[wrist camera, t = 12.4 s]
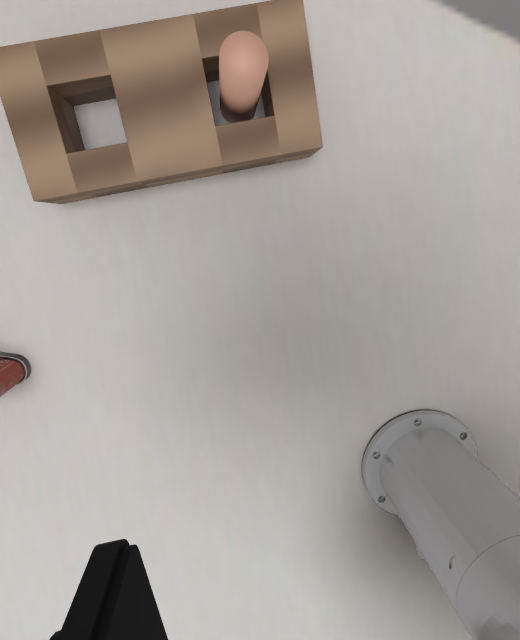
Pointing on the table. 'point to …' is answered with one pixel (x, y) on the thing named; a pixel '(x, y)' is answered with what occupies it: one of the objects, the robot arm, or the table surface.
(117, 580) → the robot arm
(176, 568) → the table surface
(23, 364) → the lighter
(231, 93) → the peg
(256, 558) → the table surface
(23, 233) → the table surface
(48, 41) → the hole block
